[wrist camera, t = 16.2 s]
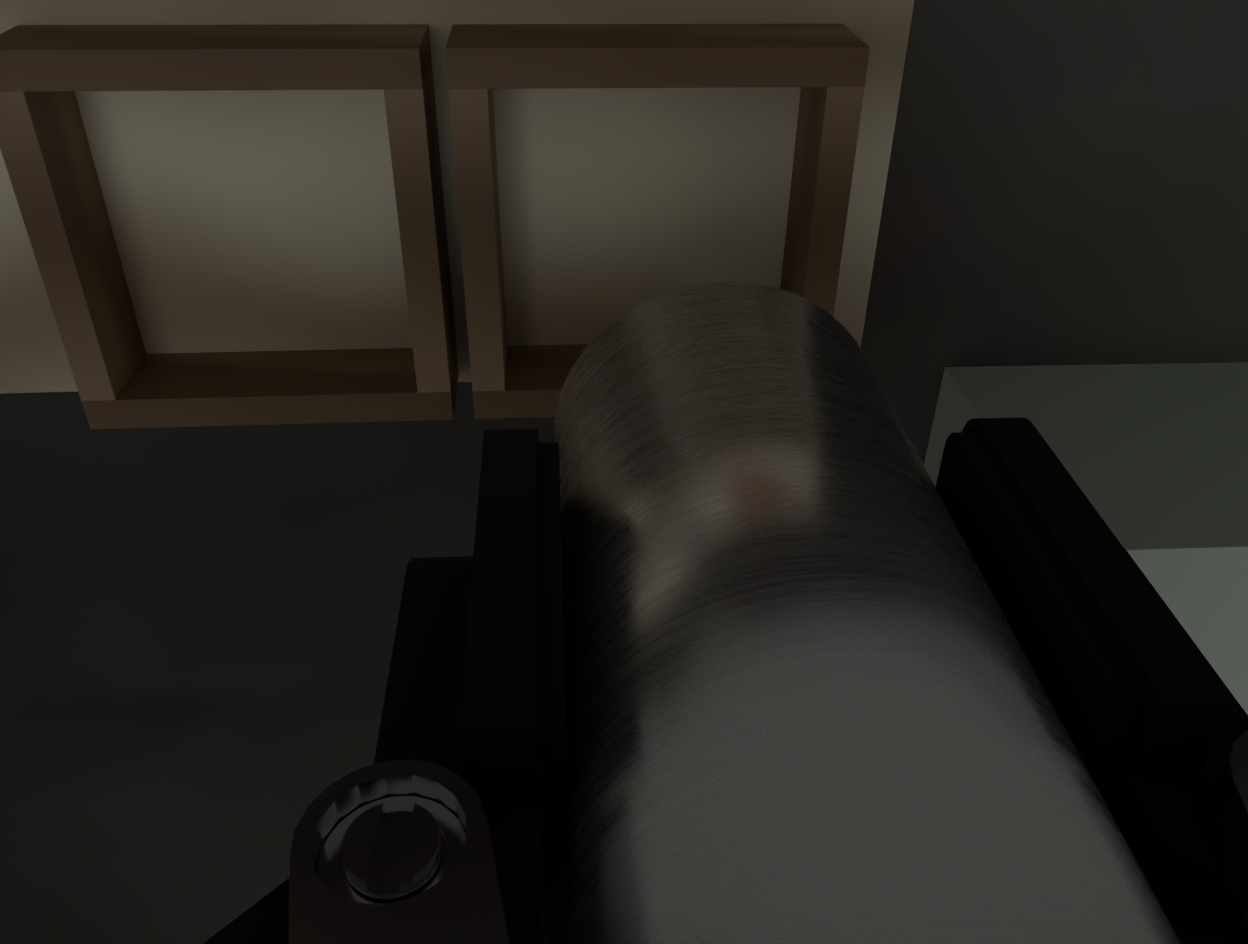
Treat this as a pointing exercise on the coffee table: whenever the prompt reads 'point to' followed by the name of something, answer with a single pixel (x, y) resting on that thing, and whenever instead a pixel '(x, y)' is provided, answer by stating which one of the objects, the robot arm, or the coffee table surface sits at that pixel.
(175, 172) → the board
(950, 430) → the housing
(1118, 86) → the coffee table surface
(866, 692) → the peg
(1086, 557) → the robot arm
